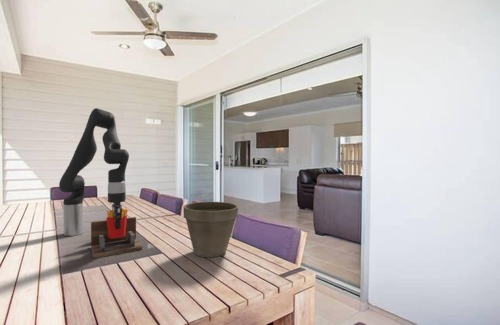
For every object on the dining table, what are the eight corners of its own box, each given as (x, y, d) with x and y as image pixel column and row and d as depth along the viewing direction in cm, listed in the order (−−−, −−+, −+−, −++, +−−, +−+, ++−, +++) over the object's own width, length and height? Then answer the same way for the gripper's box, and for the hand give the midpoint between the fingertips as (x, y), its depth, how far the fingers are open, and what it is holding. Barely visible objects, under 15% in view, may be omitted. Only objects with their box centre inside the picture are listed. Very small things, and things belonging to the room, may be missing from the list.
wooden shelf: (91, 247, 131) (90, 221, 131) (135, 240, 142) (135, 216, 142) (93, 258, 117) (93, 229, 117) (142, 249, 128) (142, 223, 128)
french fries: (109, 239, 122) (109, 210, 123) (105, 238, 125) (105, 209, 126) (129, 235, 130) (129, 208, 130) (125, 234, 132) (124, 207, 133)
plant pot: (245, 246, 133) (245, 202, 132) (224, 265, 109) (224, 212, 109) (200, 241, 141) (200, 199, 140) (172, 258, 118) (172, 208, 117)
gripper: (128, 192, 123) (128, 230, 123) (123, 189, 135) (123, 223, 135) (109, 193, 119) (109, 232, 119) (106, 190, 131) (106, 225, 131)
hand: (116, 227), depth 127 cm, fingers closed on french fries, 4 cm apart
